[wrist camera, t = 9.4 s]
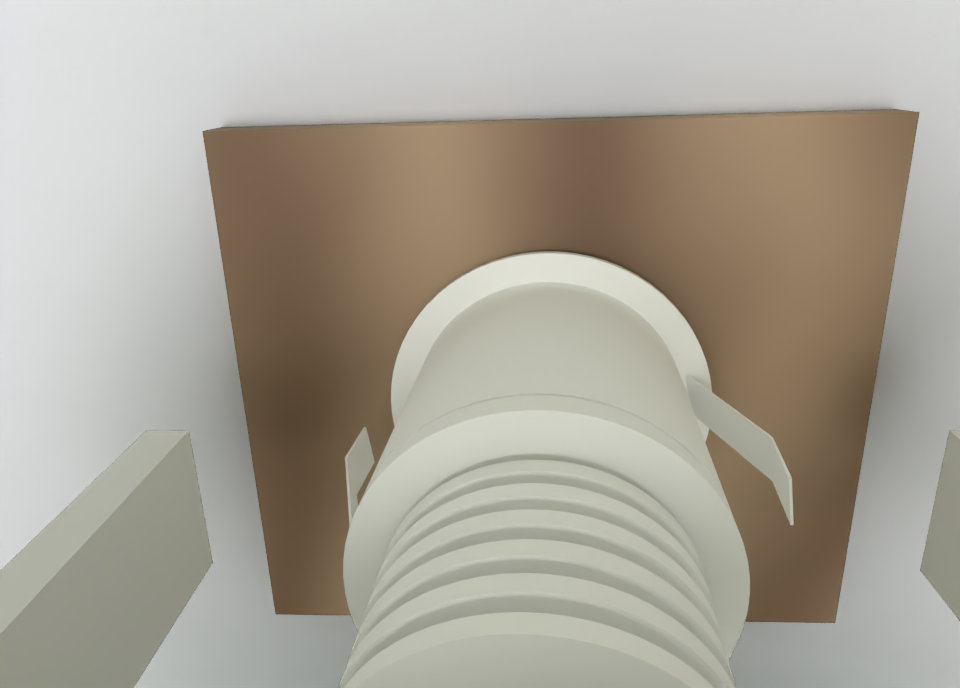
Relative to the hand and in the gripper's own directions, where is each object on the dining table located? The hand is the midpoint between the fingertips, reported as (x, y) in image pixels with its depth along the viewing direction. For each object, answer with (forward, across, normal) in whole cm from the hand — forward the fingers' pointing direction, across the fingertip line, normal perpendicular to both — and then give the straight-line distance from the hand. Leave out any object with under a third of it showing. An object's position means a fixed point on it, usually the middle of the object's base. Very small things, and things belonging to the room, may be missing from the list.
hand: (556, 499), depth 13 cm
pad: (+5, 0, 0) cm, 5 cm away
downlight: (+4, 0, 0) cm, 4 cm away
